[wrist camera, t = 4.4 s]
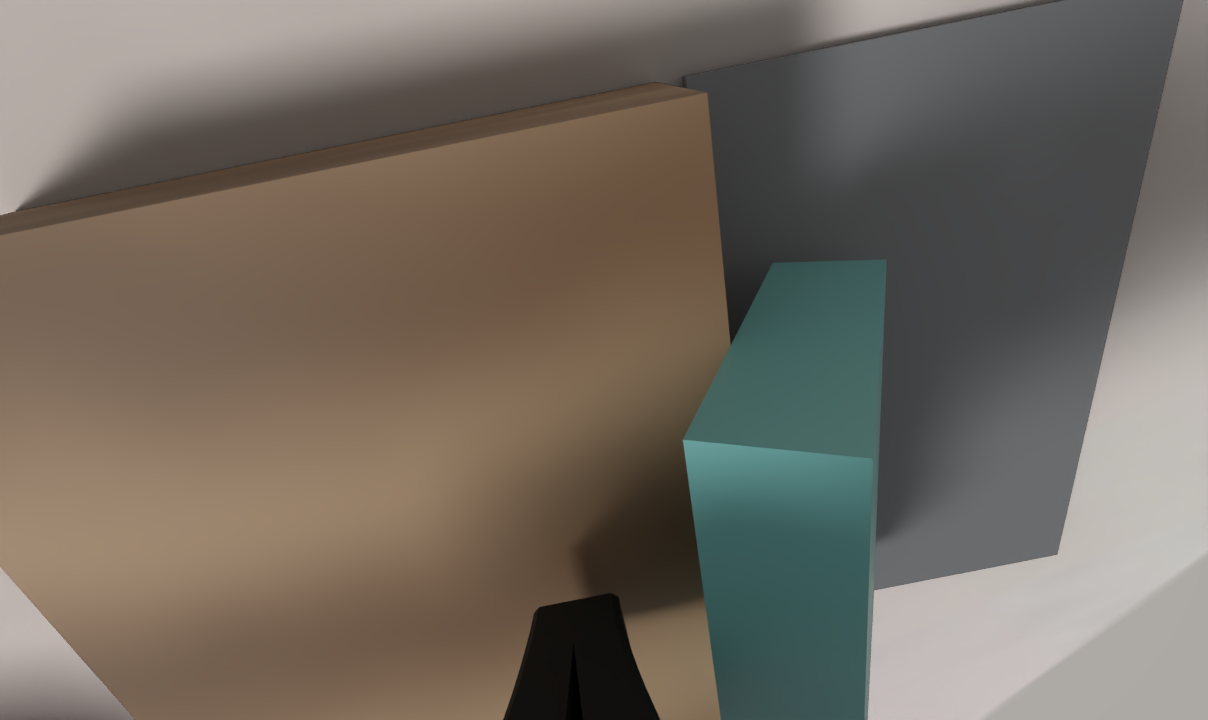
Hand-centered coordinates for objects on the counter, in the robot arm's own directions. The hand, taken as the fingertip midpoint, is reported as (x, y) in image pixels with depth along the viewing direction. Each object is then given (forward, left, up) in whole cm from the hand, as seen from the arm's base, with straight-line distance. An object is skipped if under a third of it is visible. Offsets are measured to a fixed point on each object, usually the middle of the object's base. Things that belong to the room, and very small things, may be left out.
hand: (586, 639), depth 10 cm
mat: (+1, -8, -5) cm, 10 cm away
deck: (0, +3, -5) cm, 6 cm away
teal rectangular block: (0, -3, -1) cm, 4 cm away
